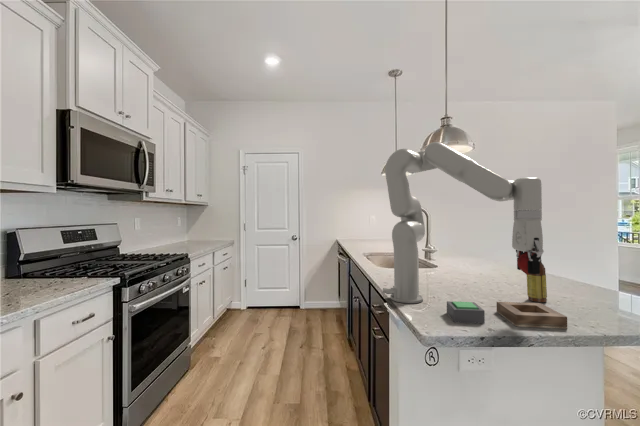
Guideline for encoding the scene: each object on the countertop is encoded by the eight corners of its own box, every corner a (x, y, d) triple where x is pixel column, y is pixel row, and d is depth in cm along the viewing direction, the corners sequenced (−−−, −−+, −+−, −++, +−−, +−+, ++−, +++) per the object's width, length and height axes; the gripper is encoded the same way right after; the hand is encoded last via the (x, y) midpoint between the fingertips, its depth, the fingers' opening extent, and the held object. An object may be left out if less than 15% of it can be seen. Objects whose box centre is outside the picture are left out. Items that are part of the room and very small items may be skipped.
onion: (543, 276, 96) (543, 251, 96) (524, 276, 96) (524, 251, 96) (531, 272, 102) (530, 248, 102) (513, 273, 102) (513, 249, 102)
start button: (457, 316, 98) (457, 306, 98) (452, 310, 104) (452, 301, 104) (477, 316, 97) (477, 307, 97) (471, 310, 103) (471, 302, 103)
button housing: (454, 322, 97) (454, 309, 97) (446, 312, 106) (446, 301, 106) (484, 323, 95) (484, 310, 95) (474, 313, 104) (474, 302, 104)
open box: (516, 326, 93) (516, 314, 93) (496, 311, 107) (496, 301, 107) (567, 328, 91) (567, 316, 91) (540, 313, 104) (540, 303, 104)
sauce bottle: (540, 298, 122) (540, 249, 122) (550, 303, 116) (550, 251, 116) (523, 298, 123) (522, 249, 123) (532, 302, 117) (532, 250, 117)
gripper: (503, 215, 108) (503, 266, 108) (529, 216, 91) (529, 277, 91) (526, 215, 107) (526, 267, 107) (556, 216, 90) (557, 277, 90)
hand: (528, 271), depth 99 cm, fingers closed on onion, 5 cm apart
